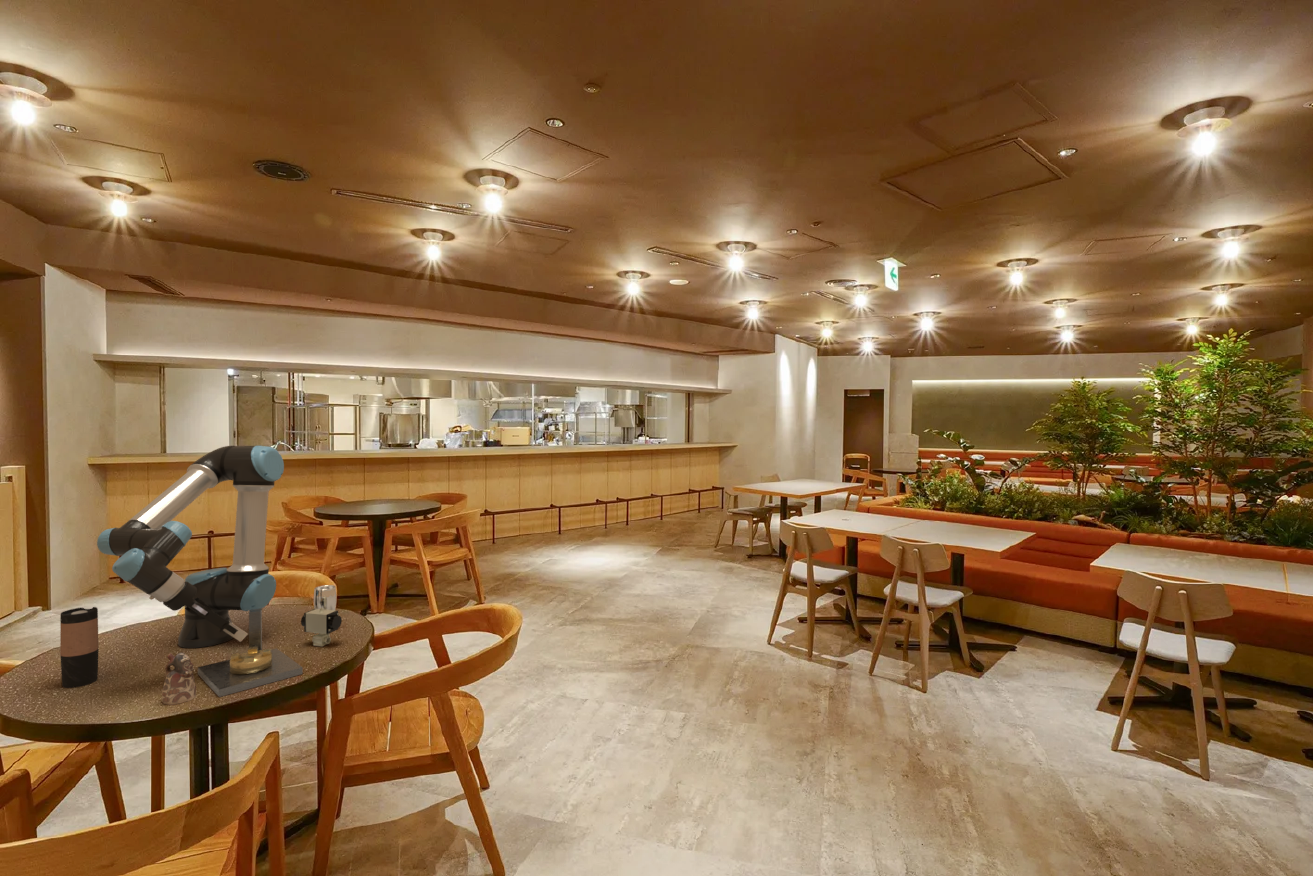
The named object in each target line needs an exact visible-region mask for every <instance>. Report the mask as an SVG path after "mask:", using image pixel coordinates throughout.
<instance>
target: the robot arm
mask: <svg viewBox="0 0 1313 876" xmlns="http://www.w3.org/2000/svg"><path fill="white" fill-rule="evenodd" d="M284 469H285V463H284V459H283V457H282V454H281V453H280V452H279V451H278V450H277V448H274V447H272V446H267V445H266V446H264V445H225V446H221V447H219V448H216V449H214V450H212V451H210V452H208V453H206V454H204V455H203V456H201V457H200V458H198V459H196V461H194V462H193V463H191V464H190V465H189V466H188V467H187V469H186V473H185V474H184V475H182V476H181V477H179V478H178V479H177V480H176V481H175V482H174V483H172V484H171V485H170V486H169V487H167V488H166V489H165V490H164V491H163V492H162V493H161V494H159V495H158V496H157V497H156V498H154V499H153V500H152V501H151V502H149V503H148V504H147V505H146V506H144V507H143V508H142V509H141V510H139V512H137V513H136V514H135V515H133V516H132V517H131V518H130V519H129V520H127V522H125V523H124V524H123V525H121V526H120V527H113V528H111V527H110V528H107V529H104V530H103V531H102V532H100V534H99V535H98V537H97V541H96V546H97V549H98V550H99V552H100V553H102V554H104V555H108V556H109V555H110V556H116V557H119V558H118V559H117V560H116V561H115V562H114V563H113V565H112V568H111V570H112V572H113V573H114V574H116V576H118V577H119V578H121V579H122V580H123V581H124V582H127V583H129V584H130V585H133V586H134V587H136V588H137V589H139V590H140V591H142V592H144V593H145V594H146V595H148V596H149V599H150V600H151V601H152V600H154V599H155V600H156V601H158V602H159V603H163V606H165V607H167V608H168V609H170V610H172V611H174V612H176V611H179V610H181V609H182V608H183V607H184V622H183V625H182V627H181V630H180V633H179V635H178V638H177V640H178V641H177V642H178V643H177V645H178V646H179V647H180V648H184V649H185V648H186V649H187V648H188V649H197V648H205V647H211V646H215V645H221V644H223V643H226V642H228V641H231V640H233V638H234V639H235V640H236V641H238V642H240V643H241V642H242V641H243V640H244V639H246V637H247V636H249V632H246V631H245V630H244V629H242V628H240V627H239V626H237V625H236V624H234V623H233V621H232V618H231V617H230V614H229V611H243V612H249V611H250V610H253V609H263V608H265V607H266V606H268V605H269V604H270V602H271V601H272V599H273V597H274V595H275V593H276V589H277V581H276V579H275V577H274V575H272V574H270V573H269V572H270V571H269V568H270V567H269V566H268V565H267V564H265V552H266V551H265V550H266V538H267V534H266V533H267V520H268V519H267V518H268V506H269V505H268V504H269V492H270V490H272V489H273V488H274V487H275V482H276V481H279V479H281V477H282V475H283V474H284V472H285V471H284ZM225 481H226V482H227V481H232V487H234V488H235V490H236V491H237V500H236V501H237V502H236V513H235V514H236V515H235V527H234V540H233V541H234V542H233V554H232V555H233V556H232V565H231V566H229V567H228V568H227V567H218V568H210V569H206V570H201V571H197V572H193V573H190V574H188V575H187V576H186V577H185V578H183V577H181V576H180V575H178V574H177V573H176V572H174V571H173V570H171V569H169V568H168V565H169V564H170V563H171V562H172V560H174V558H175V557H176V556H177V555H178V554H179V553H180V552H181V551H182V550H183V549H184V548H185V547H186V545H187V544H188V542H189V541H190V539H191V538H192V535H193V532H192V530H191V529H190V527H189V526H188V525H186V524H185V523H183V522H180V521H177V520H174V519H175V518H176V517H177V516H178V515H179V514H181V512H183V511H184V510H185V509H186V508H187V507H188V506H189V505H191V504H192V503H193V502H194V501H195V500H196V499H198V498H199V497H200V496H201V495H202V494H203V493H204V492H206V490H208V489H213V488H215V487H217V485H219V484H220V483H222V482H225Z"/></svg>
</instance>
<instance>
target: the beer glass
mask: <svg viewBox="0 0 1313 876" xmlns="http://www.w3.org/2000/svg"><path fill="white" fill-rule="evenodd" d="M336 586H337V585H333V584H324V585H319V586H316V587H314V591H313V606H314V607H313V608H314V609H320V608H323V609H324V610H326V609H327V610H336V608H337V590H336V589H337V588H336Z"/></svg>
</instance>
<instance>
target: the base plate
mask: <svg viewBox="0 0 1313 876" xmlns="http://www.w3.org/2000/svg"><path fill="white" fill-rule="evenodd" d="M271 652H272V665H271V666H270V667H268V668H266V669H264V670H261V671H258V672H254V673H249V674H233V673H231V672H230V659H226V660H222V661H219V662H218V661H217V662H214V663H213V662H212V663H210V664H206V665H200V666H198V667H197V675H198V676H199V677H200V678H201V680H202V681H204V682H205V684H206V685H207V686H208V687H209V688H210V689H211V690H212V691H213V692H214V694H216V695H217V697H218V698H221V697H225V696H228V695H232V694H235V693H239V692H243V691H246V690H250V689H254V688H259V687H260V686H264V685H268V684H272V683H274V682H275V683H276V682H279V681H283V680H286V679H290V678H293V677H297V676H301V675H303V672H304V671H303V666H302V665H300V664H299V663H298V662H296V661H295V660H294V659H292V658H291V657H289V656H288V655H287V654H285V653H284V652H282V651H281V650H280V649H278V648H271Z"/></svg>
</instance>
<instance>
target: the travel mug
mask: <svg viewBox="0 0 1313 876" xmlns="http://www.w3.org/2000/svg"><path fill="white" fill-rule="evenodd" d="M98 614H99V608H98V607H96V606H94V607H92V608H84V607H77V608H71V609H67V610H64V611H62V612H61V613H60V618H59V619H60V623H59V624H60V627H59V628H60V630H59V631H60V635H59V636H60V642H59V643H60V668H61V669H60V672H61V686H62V688H66V689H67V688H68V689H71V688H72V689H73V688H79V687H83V686H87V685H90V684H93V683H95V682H96V681H97V680H98V677H99V676H98V675H99V650H100V649H99V644H100V643H99V615H98ZM92 682H93V683H92Z"/></svg>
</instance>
